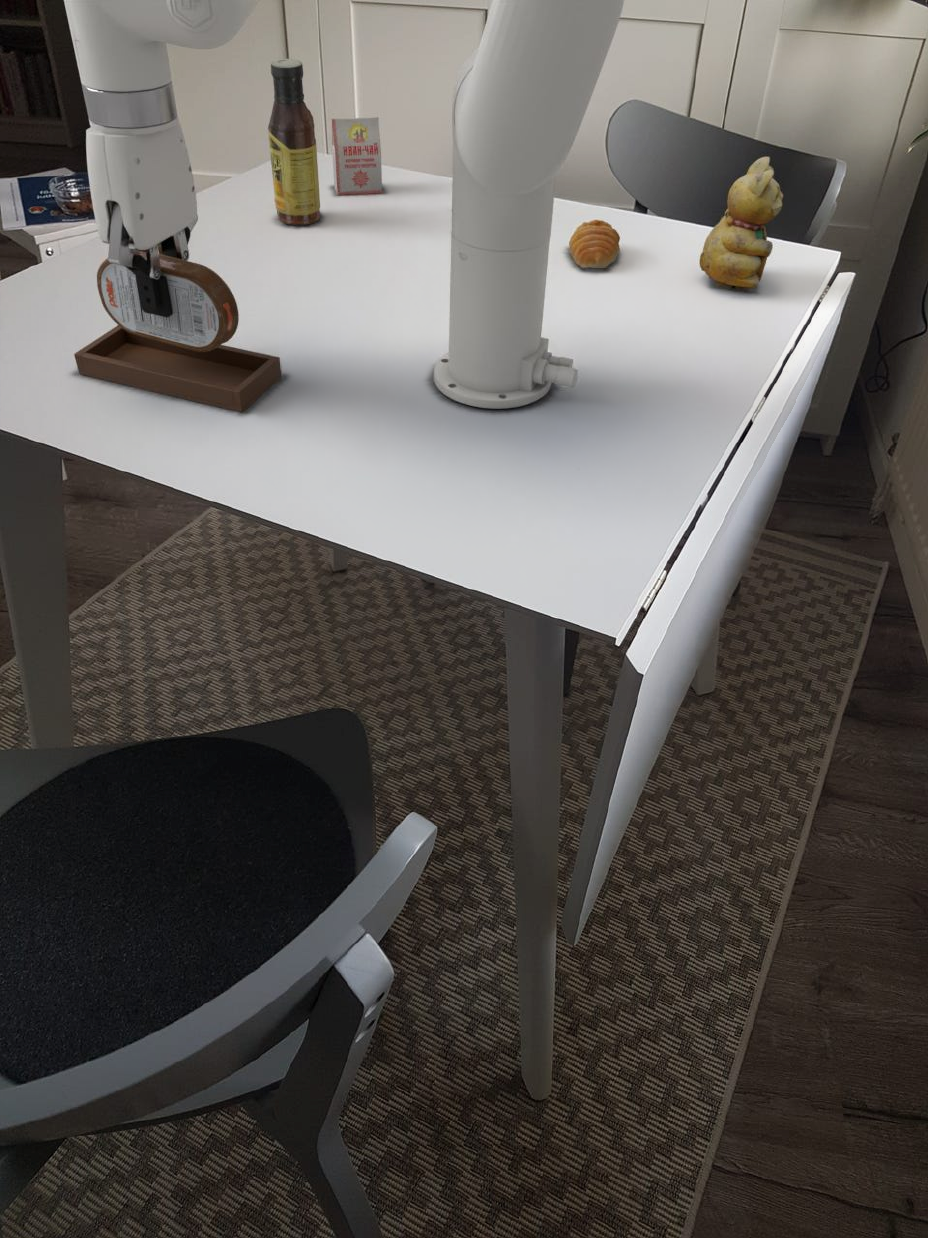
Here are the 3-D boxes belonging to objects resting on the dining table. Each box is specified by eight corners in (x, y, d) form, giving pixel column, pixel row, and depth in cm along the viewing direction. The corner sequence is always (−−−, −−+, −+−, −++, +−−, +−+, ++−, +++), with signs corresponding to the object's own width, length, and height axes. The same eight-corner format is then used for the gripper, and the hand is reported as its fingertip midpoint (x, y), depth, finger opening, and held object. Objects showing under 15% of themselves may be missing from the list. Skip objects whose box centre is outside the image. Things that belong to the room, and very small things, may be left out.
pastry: (619, 274, 124) (623, 245, 122) (567, 271, 125) (570, 242, 122) (617, 247, 131) (621, 218, 129) (568, 244, 131) (571, 216, 129)
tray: (282, 377, 101) (279, 357, 100) (242, 412, 95) (239, 392, 94) (125, 342, 106) (121, 322, 104) (79, 374, 100) (73, 353, 99)
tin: (242, 352, 97) (238, 269, 92) (225, 363, 95) (220, 278, 90) (117, 319, 101) (106, 237, 96) (97, 329, 98) (85, 245, 93)
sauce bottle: (277, 211, 137) (262, 54, 124) (321, 211, 138) (310, 54, 125) (275, 228, 132) (259, 66, 119) (321, 228, 133) (310, 67, 120)
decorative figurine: (766, 300, 119) (798, 174, 109) (700, 296, 120) (725, 170, 110) (753, 270, 127) (782, 148, 117) (691, 266, 127) (714, 145, 117)
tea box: (334, 186, 146) (330, 115, 139) (378, 184, 147) (376, 113, 140) (337, 194, 143) (333, 122, 137) (382, 192, 144) (380, 120, 138)
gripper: (149, 78, 90) (181, 271, 102) (33, 122, 79) (85, 332, 91) (218, 89, 88) (243, 283, 100) (110, 135, 77) (152, 348, 89)
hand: (167, 305), depth 96 cm, fingers closed on tin, 2 cm apart
